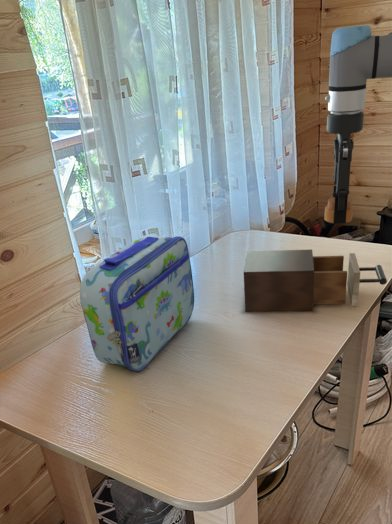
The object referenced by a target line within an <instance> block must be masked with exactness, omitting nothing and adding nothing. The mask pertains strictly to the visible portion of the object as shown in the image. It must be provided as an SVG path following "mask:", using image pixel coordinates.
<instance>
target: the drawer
mask: <svg viewBox="0 0 392 524" xmlns="http://www.w3.org/2000/svg"><path fill="white" fill-rule="evenodd" d="M344 260H345V256H344V255H316V256H315V255H313V263H314V293H313V305H316V304H317V305H319V304H320V305H322V304H323V305H324V304H325V305H326V304H329V305H331V304H333V305H335V304H336V305H337V304H346V295H347V290H348V296H349V300H350V304H351V307H358V304H359V293H360V284H361V283H363V284H364V283H367V284H368V283H369V284H370V283H371V284H372V283H373V284H374V283H379V284H380V285H386V284H387V283H388V279H387V277H386V273H385V272H384V269H383V266H382V265H381V264H376V265H375V266H374V267H373V266H371V267H369V266H368V267H359V263H358V259H357V255H356V252H349V255H348V267H347V270H344V263H345V261H344ZM369 271H370V272H372V271H373V272H375V273H376V277H377V278H361V272H369Z"/></svg>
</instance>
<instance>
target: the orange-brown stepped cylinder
mask: <svg viewBox="0 0 392 524" xmlns="http://www.w3.org/2000/svg"><path fill="white" fill-rule="evenodd" d="M334 205H335V197H333V196H332V197H330V198H328V199H327V205H326V206H324V217H323V219H324V221H325V222H327V223H330V224H334V223H333V222H334ZM353 214H354V205H352V199H351V198H350V197H348V200H347V213H346V223H347V224H348V223H349V222H351V221H352V220H353V216H354V215H353ZM346 223H345V224H346Z"/></svg>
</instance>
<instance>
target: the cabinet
mask: <svg viewBox="0 0 392 524" xmlns="http://www.w3.org/2000/svg"><path fill="white" fill-rule="evenodd" d="M313 254H314V253H313V249H282V250H281V249H280V250H248V251H246V255H245V262H244V266H243V267H244V268H243V288H244V289H243V291H244V312H245V313H288V312H290V313H291V312H292V313H295V312H296V313H297V312H300V313H301V312H310V313H311V312H313V311H314V304H313V293H314V263H313V256H314V255H313Z"/></svg>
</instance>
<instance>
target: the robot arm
mask: <svg viewBox="0 0 392 524" xmlns="http://www.w3.org/2000/svg"><path fill="white" fill-rule="evenodd" d="M328 71H329V73H328V74H329V75H328V95H326V96H325V97H324V100H325V101H328V102H327V110H328V112H329V113H328V114H327V116H326V131H327V133H329V134H332V135H336V137H335V139H334V140H333V150H334V151H333V158H334V170H333V191H332V198H333V197H335V205H334V222H333V223H332V224H333V225H334V224H335V225H336V224H337V225H338V224H346V213H347V200H348V198H349V195H350V179H351V177H350V176H351V165H352V163H351V162H352V160H353V150H354V146H355V145H354V143H355V142H354V140H353V138H351V135H352V134H356V133H360V132H361V131H363V129H364V128H363V127H364V118H365V113H364V111H363V110H364V109H365V108H366V99H367V98H366V97H367V81H368V80H370V79H371V80H372V79H373V80H374V79H384V78H385V79H387V78H392V31H391V32H389V33H388V34H385V35H372V28H371V25H368V24H365V25H364V24H363V25H351V26H349V25H348V26H340V27H337V28H336V29H334V30H333V32H332V34H331V41H330V52H329V69H328Z"/></svg>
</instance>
